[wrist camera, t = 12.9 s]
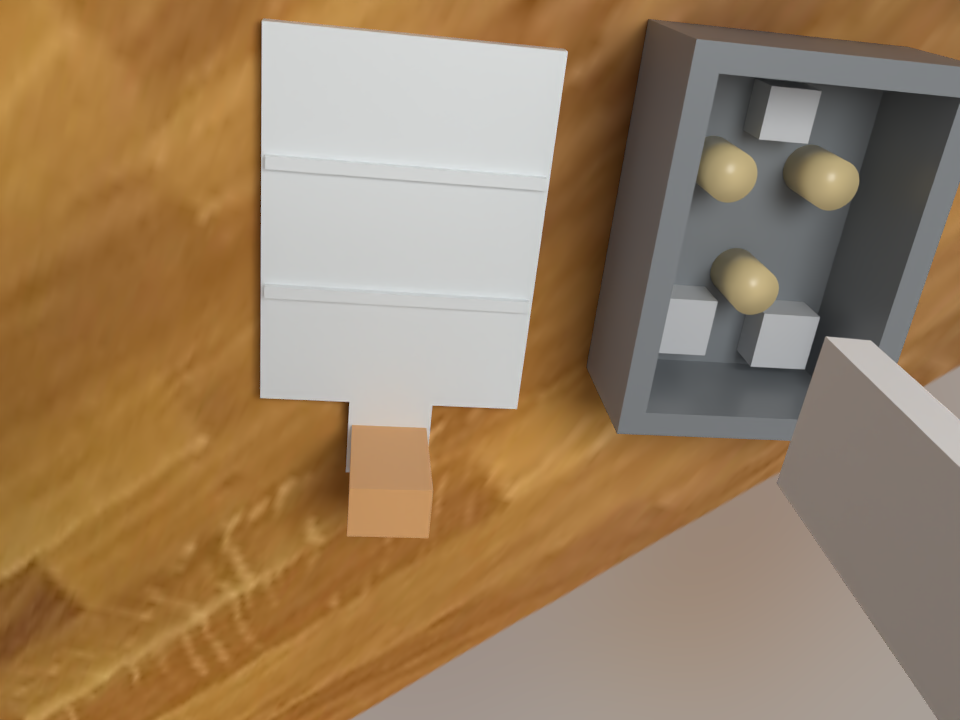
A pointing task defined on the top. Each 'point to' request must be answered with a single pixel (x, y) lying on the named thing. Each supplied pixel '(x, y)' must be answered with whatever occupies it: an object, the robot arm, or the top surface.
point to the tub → (766, 221)
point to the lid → (400, 237)
